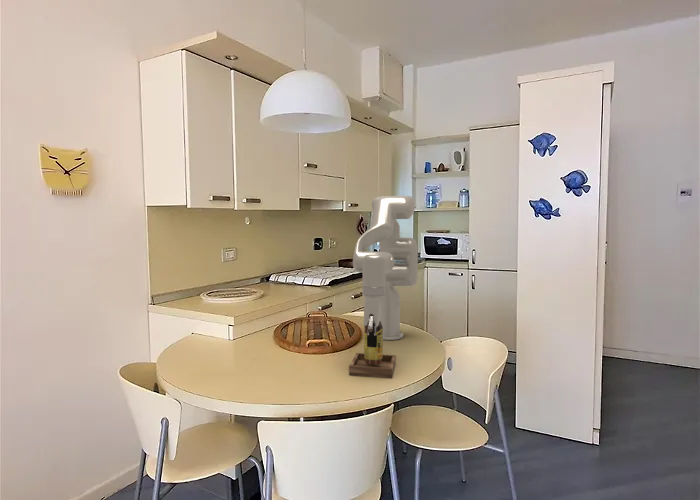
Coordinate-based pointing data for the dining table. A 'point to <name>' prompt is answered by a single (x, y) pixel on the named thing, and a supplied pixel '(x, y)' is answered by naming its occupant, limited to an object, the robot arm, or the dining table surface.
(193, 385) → the dining table surface
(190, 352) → the dining table surface
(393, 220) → the robot arm
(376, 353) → the sauce bottle
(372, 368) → the tray
